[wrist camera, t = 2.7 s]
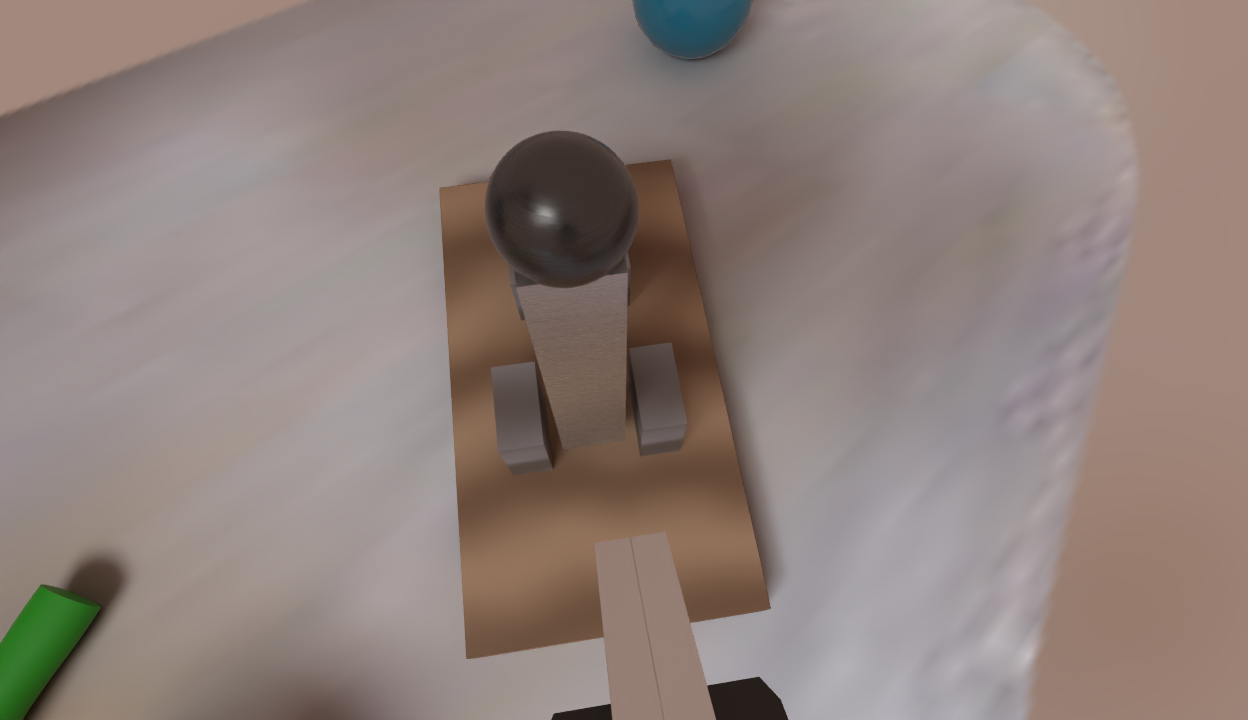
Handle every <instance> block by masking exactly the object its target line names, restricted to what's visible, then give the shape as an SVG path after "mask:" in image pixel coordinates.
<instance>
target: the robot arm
mask: <svg viewBox="0 0 1248 720" xmlns="http://www.w3.org/2000/svg"><path fill="white" fill-rule="evenodd" d="M594 545H595V555H596V564H597V574H598V584H599V594H600V603H601V613H602V623H603V632H604V642H605V652H606V662H607V671H608V681H609V691H610V700H611V704H607V705H602V706H596V707H590V708H584V709H578V710H572V711H566V712H561V713H555V714H554V715H553V717H552V720H788V717H787V715H786V712H785V710H784V707H783V704H782V702H781V700H780V698H779V697H778V696H777V695H776V694H775V693H774V692H773V691H772V690H771V689H770V688H769V687H768V686H767V685H766V683H765V682H764V681H763V680H762V679H761V678H760V677H755V678H749V679H743V680H737V681H731V682H726V683H720V684H714V685H708V686H707V684H706V680H705V677H704V673H703V669H702V665H701V662H700V658H699V654H698V650H697V647H696V643H695V639H694V636H693V632H692V628H691V624H690V621H689V617H688V613H687V610H686V606H685V602H684V598H683V595H682V591H681V587H680V583H679V580H678V576H677V572H676V569H675V565H674V561H673V557H672V554H671V550H670V546H669V543H668V539H667V535H666V532H661V533H655V534H648V535H642V536H636V537H629V538H623V539H616V540H610V541H604V542H597V543H594Z"/></svg>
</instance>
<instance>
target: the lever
mask: <svg viewBox="0 0 1248 720" xmlns="http://www.w3.org/2000/svg"><path fill="white" fill-rule="evenodd" d="M485 219H486V225H487V230H488V233H489V236H490V238H491V240H492V243H493V245H494V247H495V248H496V250H497V252H498V253H499V254H500V256H501V257H502V259H503V260H504V261H505V262H506V263H507V264H508V265H509V266H510V267H511V268H512V269H513V270H514V273H515V283H516V289H517V293H518V296H519V300H520V303H521V306H522V310H523V313H524V317H525V320H526V323H527V327H528V330H529V334H530V337H531V340H532V344H533V347H534V351H535V354H536V357H537V361H538V364H539V368H540V371H541V374H542V378H543V381H544V385H545V388H546V392H547V395H548V398H549V402H550V405H551V409H552V412H553V415H554V419H555V422H556V426H557V429H558V432H559V436H560V439H561V443H562V446H563V449H564V450H566V449H573V448H579V447H586V446H593V445H600V444H607V443H613V442H620V441H625V422H626V357H627V293H628V271H627V265H626V260H625V255H626V254H627V252H628V250H629V249H630V247H631V245H632V242H633V240H634V237H635V234H636V231H637V226H638V220H639V203H638V195H637V191H636V188H635V184H634V181H633V179H632V177H631V175H630V173H629V171H628V169H627V168H626V166H625V165H624V163H623V162H622V161H621V160H620V158H619V157H618V156H617V155H616V154H615V153H614V152H613V151H612V150H611V149H610V148H608V147H607V146H606V145H604V144H603V143H601V142H599V141H598V140H596V139H594V138H592V137H590V136H587V135H584V134H581V133H577V132H571V131H550V132H544V133H540V134H537V135H534V136H532V137H529V138H527V139H525V140H523V141H521V142H520V143H518V144H517V145H515V146H514V147H513V148H512V149H511V150H510V151H508V152H507V153H506V154H505V156H504V157H503V158H502V159H501V160H500V162H499V163H498V165H497V166H496V168H495V170H494V171H493V174H492V176H491V178H490V180H489V184H488V187H487V191H486V196H485Z"/></svg>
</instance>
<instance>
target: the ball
mask: <svg viewBox="0 0 1248 720" xmlns="http://www.w3.org/2000/svg"><path fill="white" fill-rule="evenodd" d="M752 1H753V0H632V2H633V7H634V12H635V17H636V20H637V23H638V26H639V27H640V29H641V30H642V32H643V33H644V34H645V36H646V37H647V38H648V39H649V40H650V42H651V43H652V44H653V45H654V46H655V47H656V48H658V49H659V50H661V51H663V52H665V53H667V54H668V55H670V56H672V57H677V58H683V59H698V58H705V57H707V56H709V55H711V54H714V53H716V52H718V51H720V50H722V49H724V48H725V47H726V46H727V45H728V44H729V43H730V42H731V41H732V40H733V39H734V38H735V37H736V36H737V35H738V33H739V32H740V31H741V30H742V29H743V27H744V25H745V24H746V22H747V19H748V16H749V13H750V9H751V5H752Z"/></svg>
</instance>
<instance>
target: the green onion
mask: <svg viewBox="0 0 1248 720" xmlns="http://www.w3.org/2000/svg"><path fill="white" fill-rule="evenodd" d="M100 609H101V606H100V605H99V604H97V603H95V602H93V601H90V600H88V599H86V598H83V597H81V596H79V595H77V594H74V593H72V592H69V591H66V590H63V589H60V588H56V587H53V586H49V585H43V584H42V585H40V586H39V588H38V589H37V591H36V592H35V593H34V595H33V596H32V598H31V599H30V600H29V602H28V603H27V604H26V606H25V607H24V609H23V610H22V612H21V613H20V614H19V616H18V617H17V619H16V620H15V622H14V623H13V625H12V626H11V628H10V629H9V631H8V632H7V634H6V635H5V637H4V638H3V640H2V642H1V643H0V720H23V718H24V717H25V715H26V714H27V712H28V711H29V709H30V708H31V706H32V705H33V703H34V702H35V700H36V699H37V697H38V696H39V694H40V693H41V692H42V690H43V689H44V687H45V686H46V684H47V683H48V682H49V680H50V679H51V677H52V676H53V675H54V673H55V672H56V671H57V669H58V668H59V667H60V665H61V664H62V663H63V661H64V660H65V659H66V657H67V656H68V655H69V653H70V652H71V651H72V649H73V648H74V647H75V645H76V644H77V642H78V641H79V639H80V638H81V637H82V635H83V634H84V632H85V631H86V630H87V628H88V627H89V625H90V624H91V622H92V621H93V619H94V618H95V616H96V615H97V613H98V612H99V610H100Z"/></svg>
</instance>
